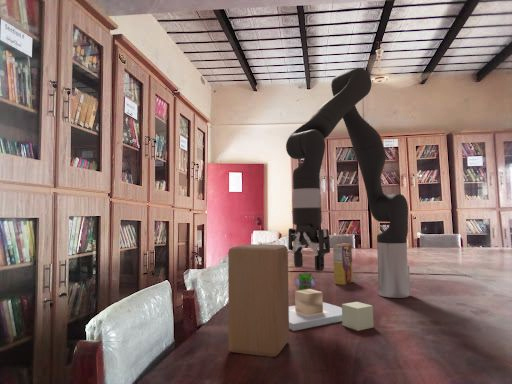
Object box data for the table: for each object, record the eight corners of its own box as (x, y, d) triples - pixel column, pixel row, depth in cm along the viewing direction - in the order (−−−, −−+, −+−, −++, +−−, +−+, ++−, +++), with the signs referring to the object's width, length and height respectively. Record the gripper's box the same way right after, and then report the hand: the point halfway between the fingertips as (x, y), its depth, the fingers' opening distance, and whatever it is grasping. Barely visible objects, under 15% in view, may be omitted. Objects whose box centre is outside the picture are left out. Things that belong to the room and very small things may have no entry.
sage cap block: (357, 322, 89) (357, 301, 89) (373, 327, 85) (372, 305, 85) (342, 325, 86) (341, 304, 87) (357, 331, 82) (357, 308, 82)
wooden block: (290, 341, 75) (288, 244, 76) (277, 359, 66) (275, 248, 67) (245, 337, 78) (244, 243, 80) (226, 353, 69) (226, 247, 70)
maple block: (310, 307, 97) (310, 288, 97) (322, 312, 92) (322, 292, 93) (295, 310, 94) (295, 290, 95) (307, 314, 90) (307, 294, 90)
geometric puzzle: (317, 287, 121) (314, 266, 127) (296, 287, 122) (295, 266, 127) (314, 297, 127) (312, 276, 132) (295, 297, 127) (294, 276, 132)
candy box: (343, 280, 147) (342, 243, 148) (353, 281, 145) (352, 243, 146) (333, 284, 140) (332, 244, 142) (343, 285, 138) (342, 244, 139)
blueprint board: (320, 306, 104) (320, 301, 104) (357, 318, 92) (356, 311, 92) (261, 316, 94) (261, 310, 94) (293, 330, 82) (293, 323, 82)
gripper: (336, 205, 91) (338, 270, 90) (301, 207, 103) (303, 264, 102) (313, 205, 87) (315, 273, 86) (279, 207, 100) (281, 267, 98)
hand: (308, 268), depth 94 cm, fingers open, 8 cm apart
